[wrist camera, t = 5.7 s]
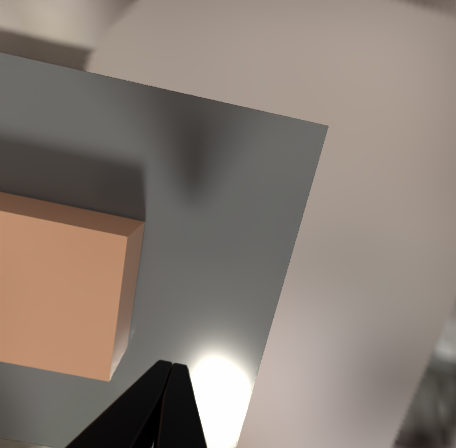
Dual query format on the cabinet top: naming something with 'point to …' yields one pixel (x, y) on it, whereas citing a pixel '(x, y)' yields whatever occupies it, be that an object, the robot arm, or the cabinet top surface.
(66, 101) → the slate board
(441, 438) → the cabinet top surface
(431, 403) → the cabinet top surface
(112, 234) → the tile
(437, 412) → the cabinet top surface
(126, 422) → the robot arm
